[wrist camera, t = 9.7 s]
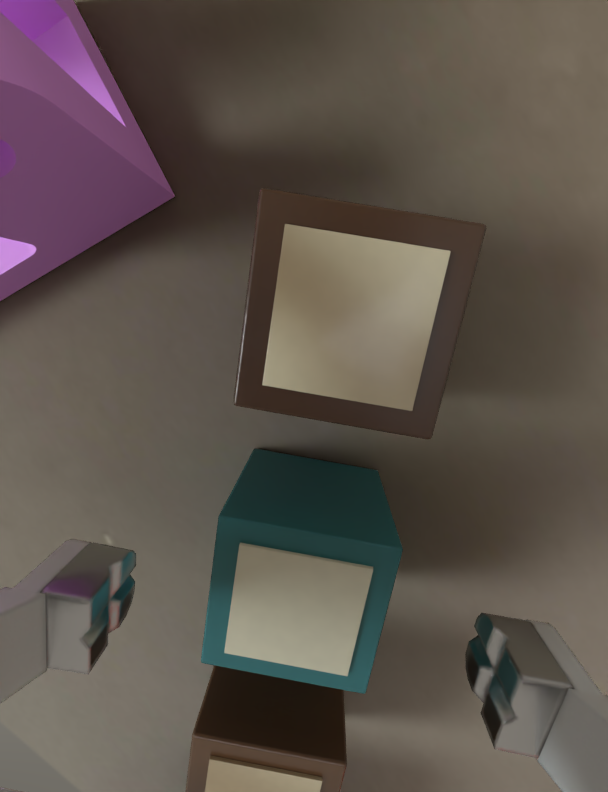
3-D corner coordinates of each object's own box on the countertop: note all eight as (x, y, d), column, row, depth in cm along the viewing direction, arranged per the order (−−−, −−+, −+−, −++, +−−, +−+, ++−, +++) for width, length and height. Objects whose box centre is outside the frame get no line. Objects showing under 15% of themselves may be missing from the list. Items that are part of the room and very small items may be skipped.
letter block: (254, 447, 13) (216, 517, 9) (377, 469, 13) (404, 552, 8) (239, 555, 14) (198, 667, 10) (353, 576, 14) (366, 699, 9)
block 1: (231, 610, 14) (190, 739, 10) (341, 630, 14) (347, 769, 10) (219, 696, 16) (176, 847, 11) (321, 715, 15) (320, 875, 11)
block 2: (284, 233, 11) (258, 183, 7) (426, 257, 11) (491, 222, 7) (264, 373, 12) (230, 407, 8) (395, 395, 12) (433, 442, 8)
